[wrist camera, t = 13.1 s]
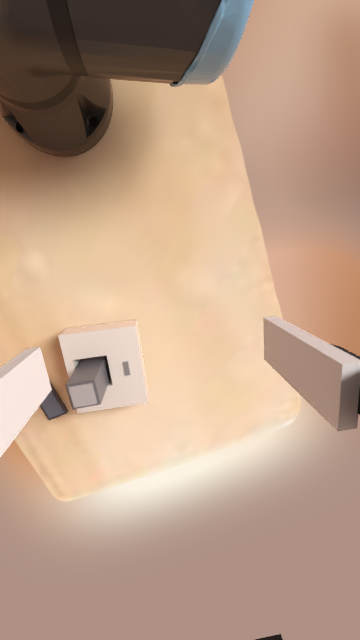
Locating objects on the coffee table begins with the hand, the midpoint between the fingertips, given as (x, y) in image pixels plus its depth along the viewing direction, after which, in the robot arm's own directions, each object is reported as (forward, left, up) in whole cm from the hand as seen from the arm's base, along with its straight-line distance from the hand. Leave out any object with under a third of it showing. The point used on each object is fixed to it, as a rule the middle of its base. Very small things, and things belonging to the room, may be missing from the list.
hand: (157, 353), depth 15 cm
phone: (+18, -22, -29) cm, 41 cm away
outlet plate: (+12, -10, -29) cm, 33 cm away
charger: (+12, -12, -29) cm, 33 cm away
